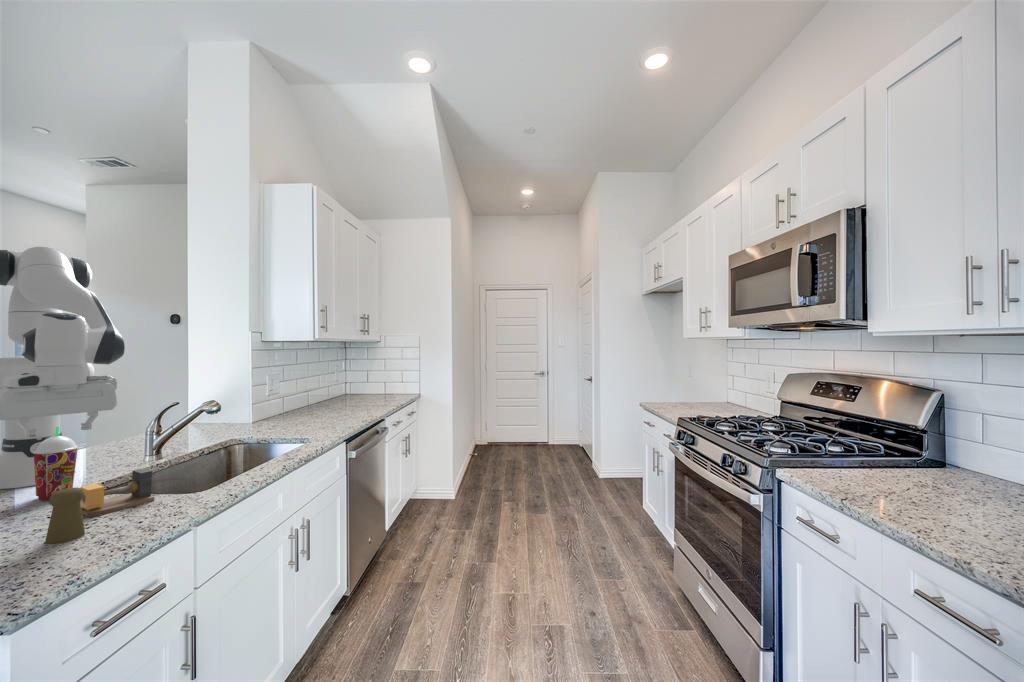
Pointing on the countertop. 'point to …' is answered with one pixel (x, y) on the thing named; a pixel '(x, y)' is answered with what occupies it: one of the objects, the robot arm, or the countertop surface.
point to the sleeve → (93, 496)
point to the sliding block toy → (138, 496)
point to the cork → (65, 516)
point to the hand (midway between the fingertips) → (59, 433)
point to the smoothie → (54, 465)
